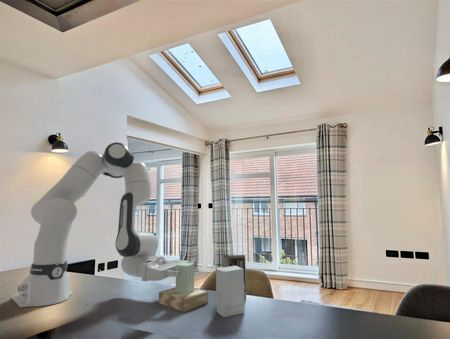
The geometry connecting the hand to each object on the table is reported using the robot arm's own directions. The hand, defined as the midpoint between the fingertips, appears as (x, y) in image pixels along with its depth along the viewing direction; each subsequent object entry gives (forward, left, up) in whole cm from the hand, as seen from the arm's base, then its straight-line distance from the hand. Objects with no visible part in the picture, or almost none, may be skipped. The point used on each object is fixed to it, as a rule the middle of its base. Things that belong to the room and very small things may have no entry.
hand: (186, 271), depth 111 cm
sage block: (0, 0, -7) cm, 8 cm away
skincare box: (+19, +1, -12) cm, 22 cm away
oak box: (-1, 0, -12) cm, 12 cm away
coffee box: (+12, +15, -12) cm, 22 cm away
